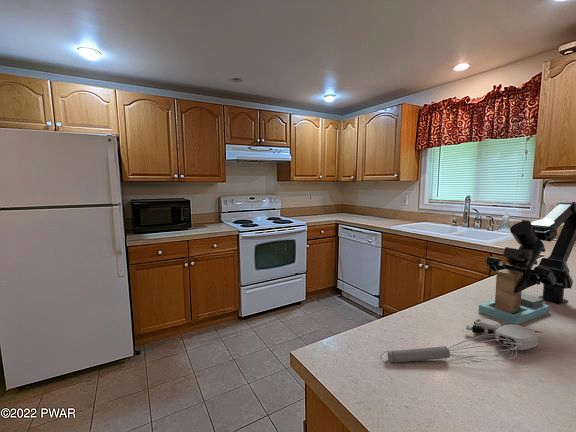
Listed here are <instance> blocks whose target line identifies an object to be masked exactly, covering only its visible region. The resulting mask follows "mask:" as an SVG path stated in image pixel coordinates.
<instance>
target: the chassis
mask: <svg viewBox="0 0 576 432" xmlns="http://www.w3.org/2000/svg"><path fill="white" fill-rule="evenodd" d="M538 297H539V296H534V295H531V294H528V293H523V292H521V307H520V311H518V312H515V314H514V313H512V314H511V313H508V312H505V311H502V310H499V309H496V308H495V299H494V300H491V301H487V302H482V303H479V304H478V312H479V313H480V314H484V315H487V316H489V317H491V318H494V319H497V320H499V321H502V322H504V323H506V324H507V323H508V325H510V324H512V325H520V324H522V323H523V324H524V323H525V322H529V321H531V320H534V319H536V318H539V317H543V316H544V315H545V316H546V315H547V314H550V312H551V311H550V309H551V308H550V307H551V306H550V305H549V304H545V303H544V300H543V299H541V298H538Z"/></svg>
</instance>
